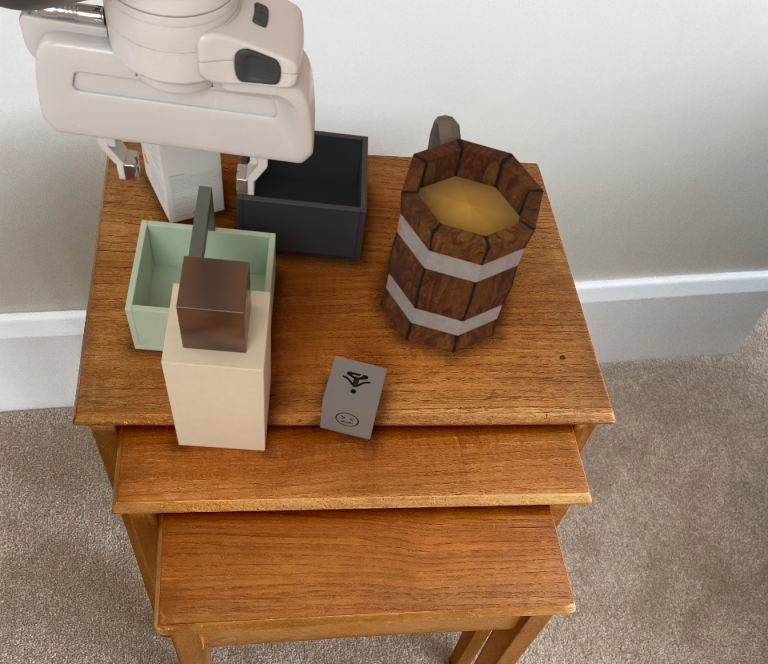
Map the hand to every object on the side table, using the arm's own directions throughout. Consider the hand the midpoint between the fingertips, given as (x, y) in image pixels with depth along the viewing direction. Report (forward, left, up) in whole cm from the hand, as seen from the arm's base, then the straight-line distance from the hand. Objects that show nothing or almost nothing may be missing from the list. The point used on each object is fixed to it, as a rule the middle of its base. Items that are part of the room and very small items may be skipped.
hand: (188, 182), depth 65 cm
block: (+3, -12, -3) cm, 13 cm away
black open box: (+9, +14, -16) cm, 24 cm away
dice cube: (+15, -11, -17) cm, 25 cm away
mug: (+24, +7, -17) cm, 30 cm away
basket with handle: (0, 0, -16) cm, 16 cm away
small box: (-4, +16, -17) cm, 23 cm away
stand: (+3, -12, -16) cm, 21 cm away
